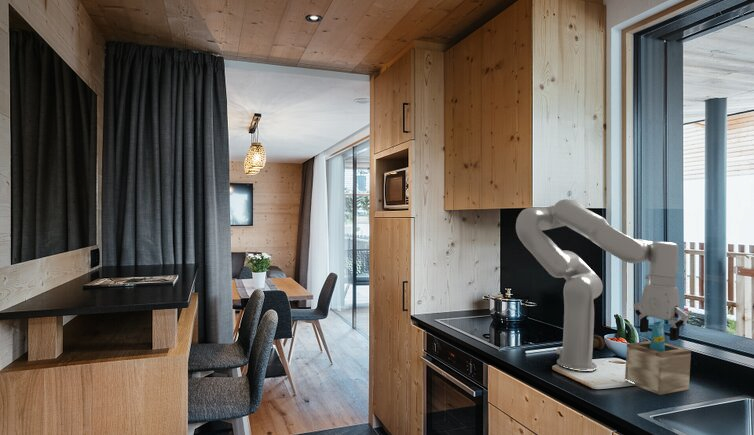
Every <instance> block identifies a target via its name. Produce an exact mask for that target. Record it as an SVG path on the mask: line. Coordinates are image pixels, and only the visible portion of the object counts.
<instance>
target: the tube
mask: <svg viewBox="0 0 754 435" xmlns="http://www.w3.org/2000/svg"><path fill="white" fill-rule="evenodd" d="M650 334H651V336H650V341H651V342H650V349H652V350H656V351H659V352H663V351H665V341H666V340H665V328H664V320H662V319H660V320H659V321H654V323H653V325H652V329H651V333H650Z"/></svg>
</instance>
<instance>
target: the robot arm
mask: <svg viewBox="0 0 754 435" xmlns="http://www.w3.org/2000/svg"><path fill="white" fill-rule="evenodd" d="M515 222H516V223H515V232H516V235H517V237H518V239H519V241H520V242H521V243H522V244H523V246H524V247H525V248H526V249H527V250H528V251H529V252H530V254H531V255H532V256H533V257H534V258H535V259H536V261H537V262H538V263H539V264H540V265H541V266H542V267H543V269H545V271H547V272H548V274H549V275H550V276H552V277H553V278H556V279H558V278H559V279H562V278H564V280H565V283H564V286H563V305H564V307H563V308H564V309H563V310H564V312H563V313H564V314H563V330H562V331H563V334H562V335H563V336H562V347H559V346H558V347H557V349H555V351H554V353H555V354H557V355H559V358H558V359H557V360H556V364H557V365H558V366H559V365H562V366H565V367H568V368H573V369H580V370H587V369H594V368H596V367H598V366H597V364H596V363H594V362H593V351H594V348H593V335H594V330H595V329H594V328H595V304H594V300H595V299H597V298H598V297H599V296H600V295H601V294H602V293H603V288H604V286H603V282H602V280H601V278H600V277H599V275H597V274H596V272H595V271H594V270H593V269H591V267H590V266H589V265H588V264H587V263H586V262H585V261H584V260H583V259H582V258H581V257H580V256H579V255H578V254H577V253H575V252H573V251H570V250H562V248H560V247H558V244H556V243H555V242H554V241H553V240H552V238H550V237H549V236H548V235H547V234H545V233H544V232H543V231H547V230H552V229H557V228H562V227H567V228H568V229H570V230H572V231H575V232H576V233H578V234H580V235H581V236H583V237H585V238H586V239H588V240H589V241H591V242H592V243H594V244H595V245H597V246H598V247H600V249H603V250H604V251H605V252H607V253H609V254H610V255H612V256H614V257H616V258H618V259H619V260H621V261H623V262H626V263H629V264H638V263H648V275H645V277H644V278H645V280H647V283H645V284H644V287H643V288H642V295H641V298H640V301H639V302H635V303H633V307H634V310H635V314H636V315H637V316H638V317H637V318H638V319H639V332H640V333H648V332H649V324H650V323H649V322H650V321H649V319H648V318H649V317H650V318H655V319H658V320H663V321H668V322H669V324H670V326H671V327H669V336H668V337H669V338H668V339H669V341H672V342H674V341H678V340H679V338H680V328H682V327H683V326H684V325H685V324H686V323H687V321H688V320H689V318H690V315H689V314H688V313H687V312H685V311H684V310H683V309H681V308H680V306H681V305H680V295H679V294H680V293H679V289H678V287H677V275H678V273H677V272H678V262H679V261H678V259H679V245H678V244H677V243H675V242H672V241H670V242H669V241H652V240H647V239H641V238H632V237H631V236H629V235H626V233H623V232H621V231H619V230H618V229H616V228H615V227H613V226H611V225H610V224H609V223H608V221H607V220H606V218H605V217H603V216H601V215H599V214H597V213H595V212H593V211H592V210H589V209H588V208H586V207H584V206H583V204H582V203H581V202H579V201H577V200H573V199H566V198H565V199H560V200H559V201H557V202H556V203H554V205H551V206H546V207H537V206H536V207H527V208H525V209H522V210H521V212H520V213H519V214H518V216H517V217H516V221H515ZM680 317H681V318H680ZM679 318H680V319H679Z"/></svg>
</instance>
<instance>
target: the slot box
mask: <svg viewBox="0 0 754 435" xmlns="http://www.w3.org/2000/svg"><path fill="white" fill-rule="evenodd" d="M650 342H651V340H649V341H639V342H629V343H626V356H625V357H626V358H625V372H624V376H625V377H624V380H625V379H627V380H630V381H632V382H634V383H635V385H634V386H635V387H638V388H641V389H644V390H646V391H648V392H649V391H650V392H652V393H654V394H657V395H659V396H662V395H666V394H672V393H677V392H683V391H687V390H690V377H691V376H690V374H691V372H690V371H691V360H692V357H691V355H692V350H690V349H687V348H683V347H680V346H676V345H673V344H671V343H670V344H669V343H665V351H663V352H659V351H656V350H652V349H650Z"/></svg>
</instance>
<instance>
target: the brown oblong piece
mask: <svg viewBox="0 0 754 435" xmlns="http://www.w3.org/2000/svg"><path fill="white" fill-rule="evenodd" d="M605 345H606V343H605V340H604V338H603V336H600V335H598V334H593V349H596V350H599V351H601V350H603V349H604V347H605Z"/></svg>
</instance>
